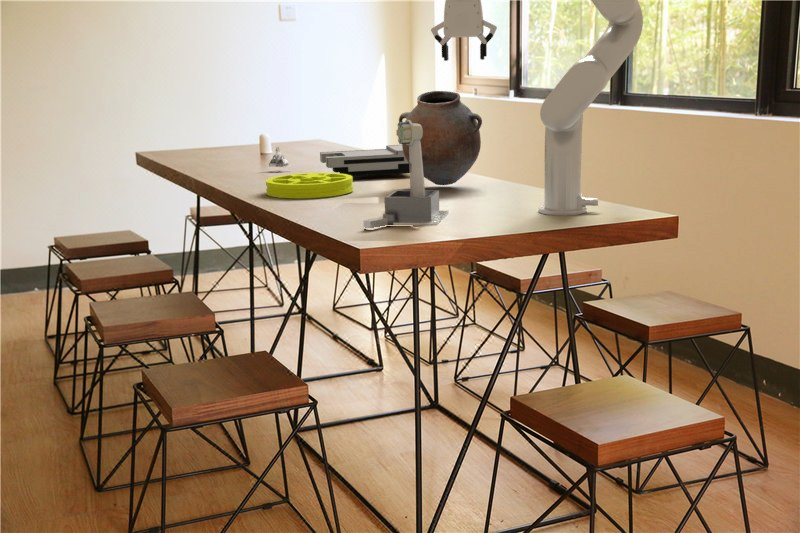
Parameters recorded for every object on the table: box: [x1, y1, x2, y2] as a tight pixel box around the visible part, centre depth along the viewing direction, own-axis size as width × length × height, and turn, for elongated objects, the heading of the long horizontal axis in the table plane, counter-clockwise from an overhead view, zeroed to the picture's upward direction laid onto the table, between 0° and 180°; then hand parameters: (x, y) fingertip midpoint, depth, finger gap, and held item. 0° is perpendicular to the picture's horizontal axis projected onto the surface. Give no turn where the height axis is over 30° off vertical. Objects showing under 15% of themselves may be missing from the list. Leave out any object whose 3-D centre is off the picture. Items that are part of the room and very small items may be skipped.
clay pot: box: [398, 90, 483, 186], centre depth 304 cm, size 26×25×30 cm
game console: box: [319, 144, 410, 178], centre depth 347 cm, size 21×32×8 cm, turn 102°
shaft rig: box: [363, 189, 449, 228], centre depth 247 cm, size 18×30×7 cm, turn 168°
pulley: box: [265, 172, 354, 199], centre depth 305 cm, size 28×28×5 cm
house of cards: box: [268, 146, 290, 168], centre depth 374 cm, size 9×9×8 cm
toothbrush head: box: [395, 119, 426, 197], centre depth 245 cm, size 5×7×25 cm
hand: (464, 60), depth 250 cm, fingers open, 9 cm apart
